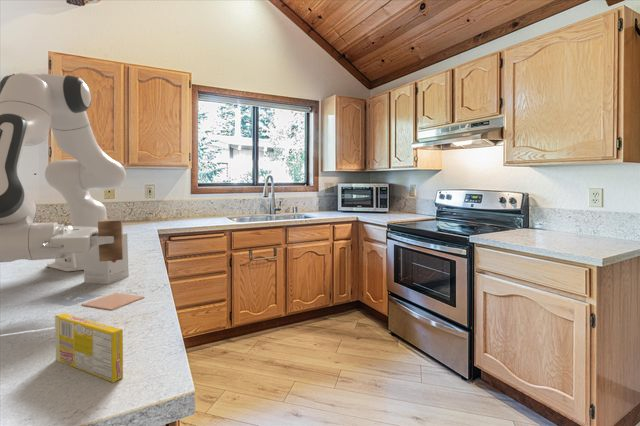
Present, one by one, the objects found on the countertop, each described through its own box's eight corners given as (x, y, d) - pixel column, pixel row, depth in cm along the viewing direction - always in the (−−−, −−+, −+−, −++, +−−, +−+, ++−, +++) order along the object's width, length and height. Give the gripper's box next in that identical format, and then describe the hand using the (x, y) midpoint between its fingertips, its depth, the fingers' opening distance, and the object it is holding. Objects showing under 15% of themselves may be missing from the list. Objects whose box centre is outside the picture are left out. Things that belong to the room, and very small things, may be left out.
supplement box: (108, 285, 108) (106, 236, 107) (83, 283, 110) (81, 235, 109) (130, 277, 117) (128, 232, 116) (106, 275, 119) (104, 231, 118)
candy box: (125, 377, 58) (123, 328, 57) (113, 384, 56) (110, 333, 56) (67, 355, 65) (65, 311, 65) (54, 360, 63) (51, 315, 63)
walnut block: (99, 261, 88) (97, 221, 88) (101, 257, 93) (100, 219, 92) (122, 259, 91) (120, 220, 90) (123, 256, 95) (122, 218, 94)
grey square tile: (44, 302, 92) (43, 301, 92) (77, 292, 101) (77, 291, 101) (69, 307, 89) (68, 306, 89) (101, 296, 98) (101, 295, 98)
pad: (82, 306, 90) (81, 304, 90) (116, 294, 99) (116, 292, 99) (112, 311, 87) (111, 309, 87) (144, 298, 96) (144, 296, 96)
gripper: (36, 233, 76) (111, 230, 82) (57, 223, 94) (117, 221, 100) (38, 262, 77) (112, 257, 83) (58, 246, 95) (118, 243, 101)
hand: (115, 237), depth 92 cm, fingers closed on walnut block, 5 cm apart
